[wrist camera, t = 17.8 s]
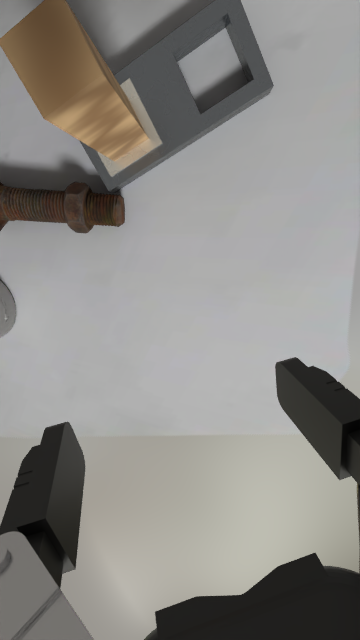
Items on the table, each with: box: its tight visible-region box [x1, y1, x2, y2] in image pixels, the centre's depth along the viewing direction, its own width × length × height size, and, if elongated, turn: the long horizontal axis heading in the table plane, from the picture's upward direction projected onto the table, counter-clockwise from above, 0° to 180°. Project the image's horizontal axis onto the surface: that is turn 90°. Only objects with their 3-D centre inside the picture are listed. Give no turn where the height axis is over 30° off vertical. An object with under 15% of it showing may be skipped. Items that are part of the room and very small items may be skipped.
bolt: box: [0, 182, 125, 233], centre depth 32 cm, size 6×5×15 cm
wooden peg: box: [0, 0, 149, 161], centre depth 22 cm, size 4×4×14 cm
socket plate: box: [80, 0, 274, 193], centre depth 29 cm, size 18×8×2 cm, turn 119°
